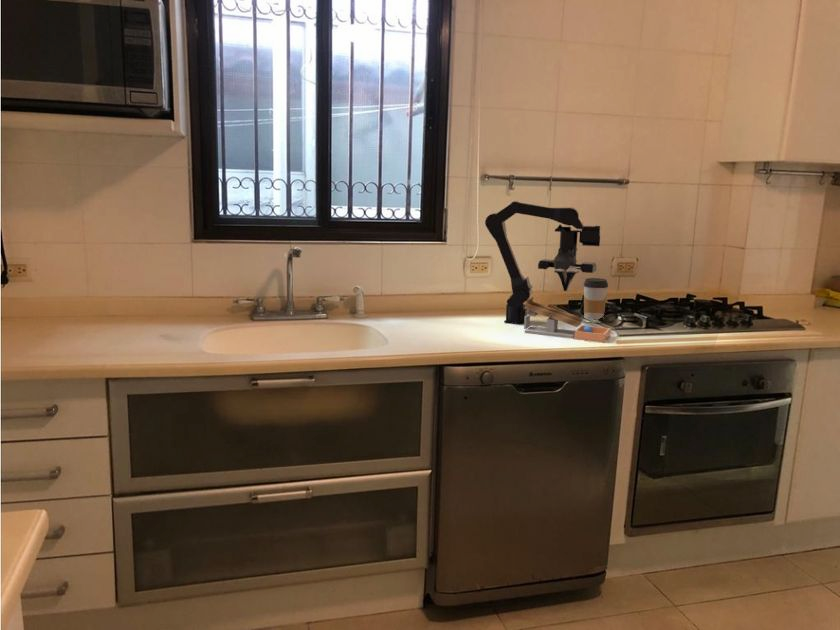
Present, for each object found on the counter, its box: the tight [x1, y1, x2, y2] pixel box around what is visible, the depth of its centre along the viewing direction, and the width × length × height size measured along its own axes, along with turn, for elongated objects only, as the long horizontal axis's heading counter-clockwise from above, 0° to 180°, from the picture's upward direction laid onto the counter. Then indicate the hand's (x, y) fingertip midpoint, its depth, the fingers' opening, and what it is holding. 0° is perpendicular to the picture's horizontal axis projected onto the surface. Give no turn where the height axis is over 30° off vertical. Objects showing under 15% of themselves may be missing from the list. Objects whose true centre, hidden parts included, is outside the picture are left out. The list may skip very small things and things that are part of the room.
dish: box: [574, 324, 612, 344], centre depth 208 cm, size 9×9×3 cm
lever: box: [524, 296, 584, 328], centre depth 215 cm, size 18×10×5 cm, turn 63°
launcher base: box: [523, 314, 577, 339], centre depth 214 cm, size 17×8×5 cm, turn 63°
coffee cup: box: [583, 277, 609, 319], centre depth 230 cm, size 8×8×15 cm
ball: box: [583, 325, 593, 333], centre depth 209 cm, size 3×3×3 cm
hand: (565, 291), depth 224 cm, fingers closed
